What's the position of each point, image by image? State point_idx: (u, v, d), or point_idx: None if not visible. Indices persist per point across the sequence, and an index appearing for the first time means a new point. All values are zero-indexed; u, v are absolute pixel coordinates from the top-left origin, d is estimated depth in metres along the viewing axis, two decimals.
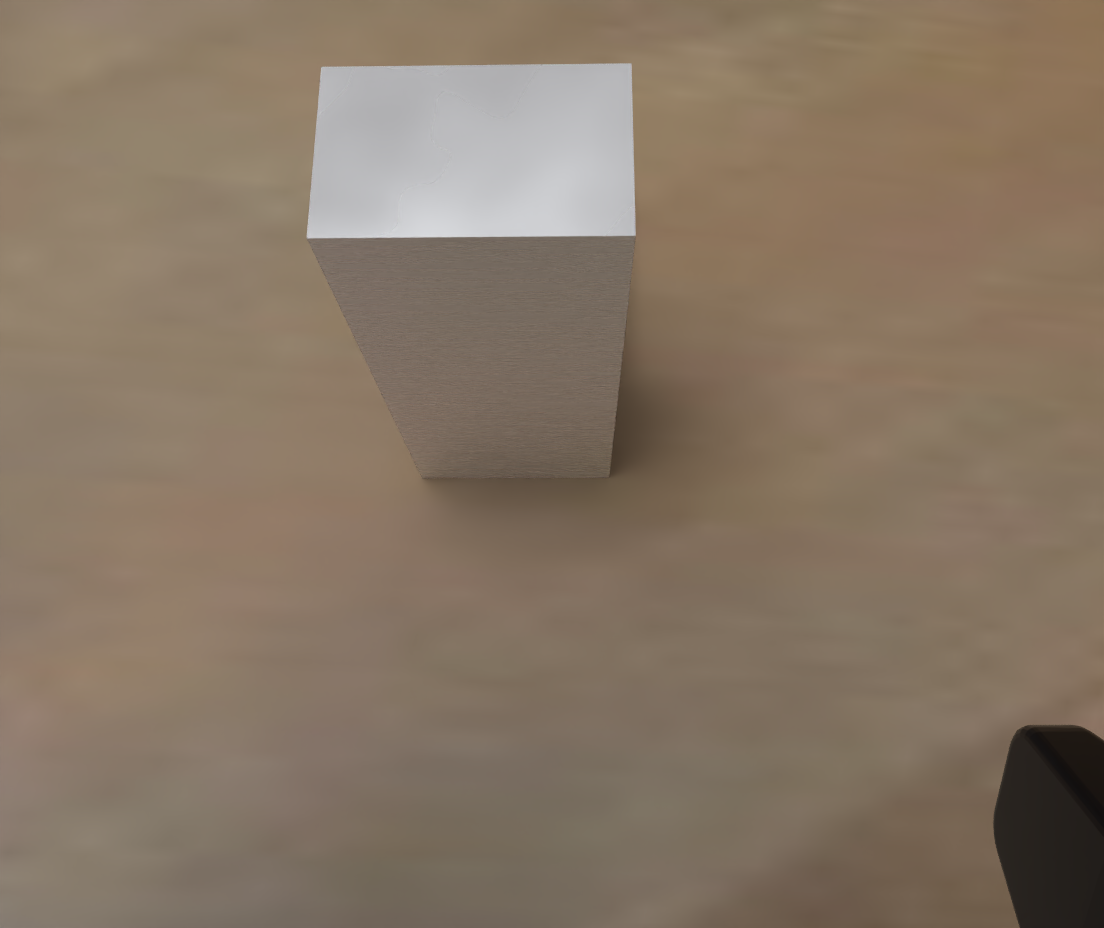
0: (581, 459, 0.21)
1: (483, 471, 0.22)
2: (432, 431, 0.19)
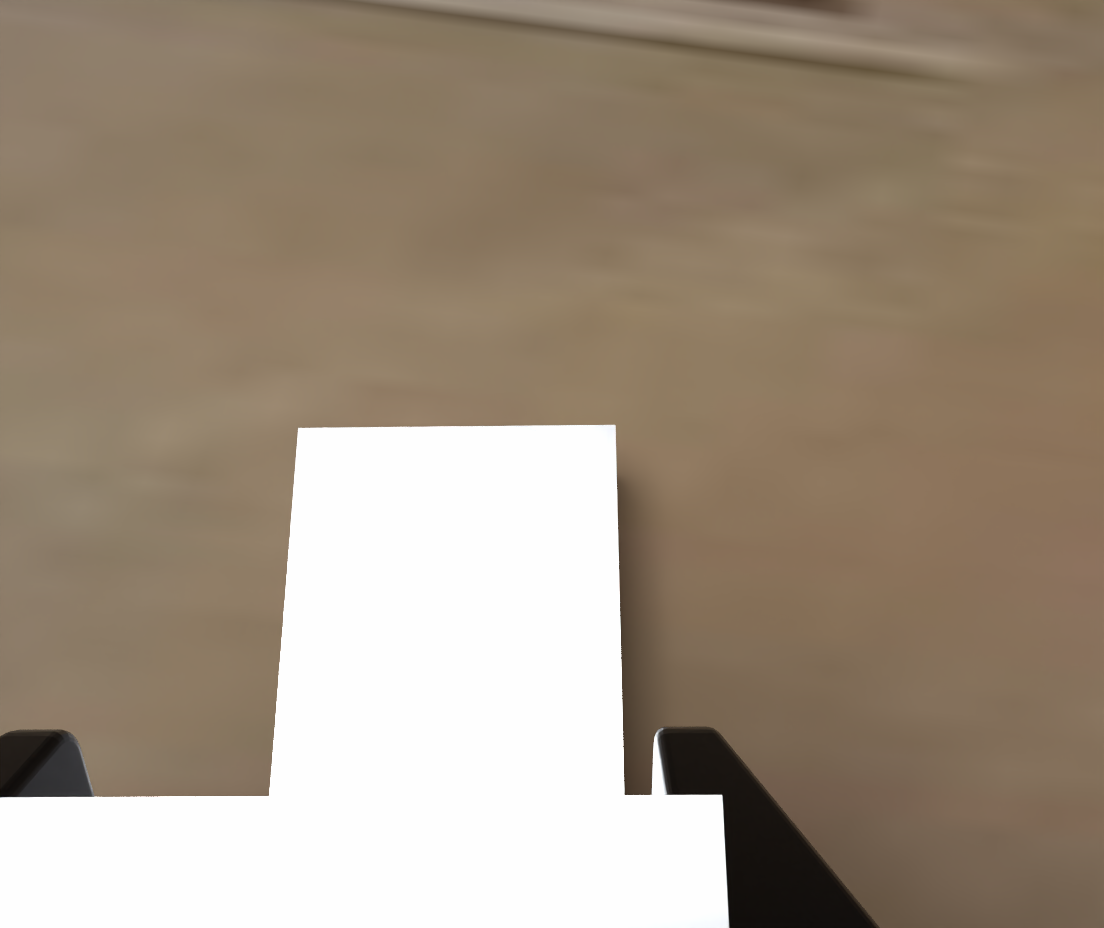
0: None
1: None
2: None
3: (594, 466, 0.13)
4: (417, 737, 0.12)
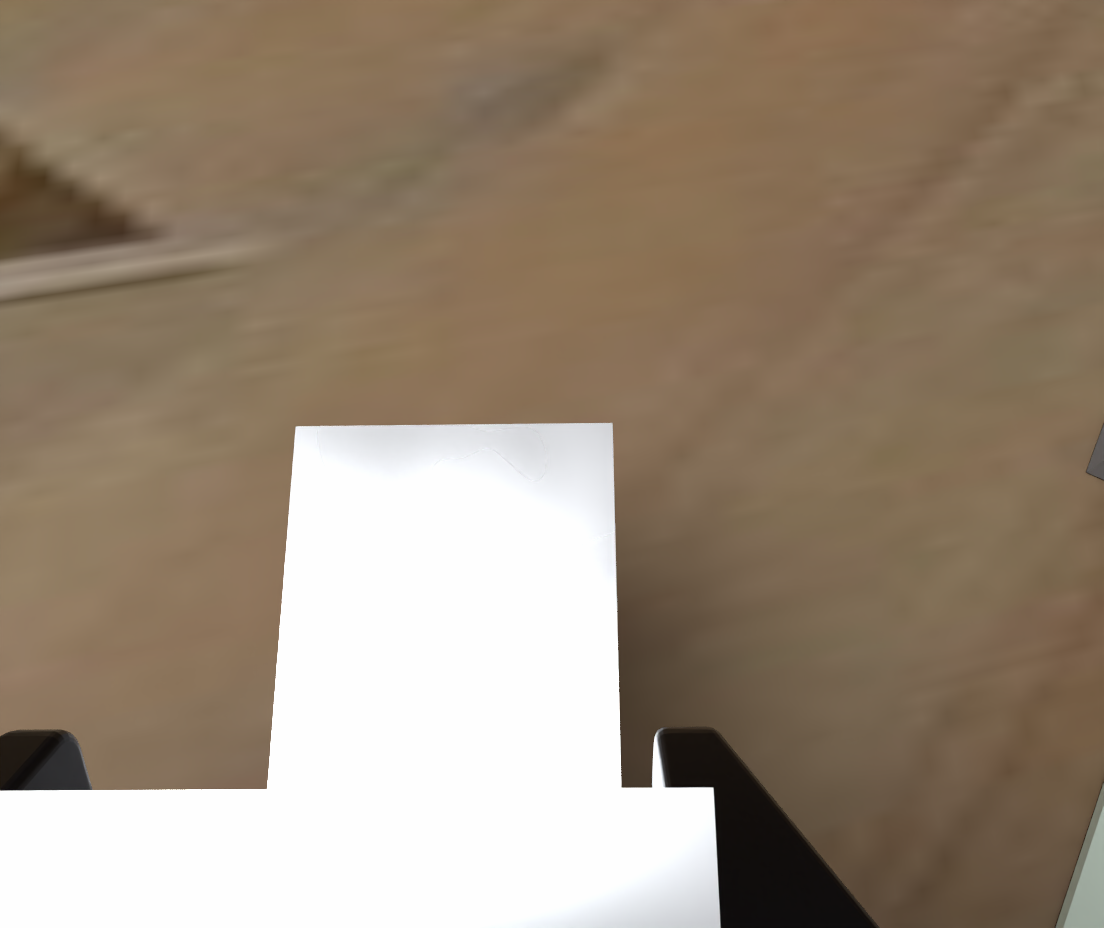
0: None
1: None
2: None
3: (591, 464, 0.13)
4: (414, 735, 0.12)
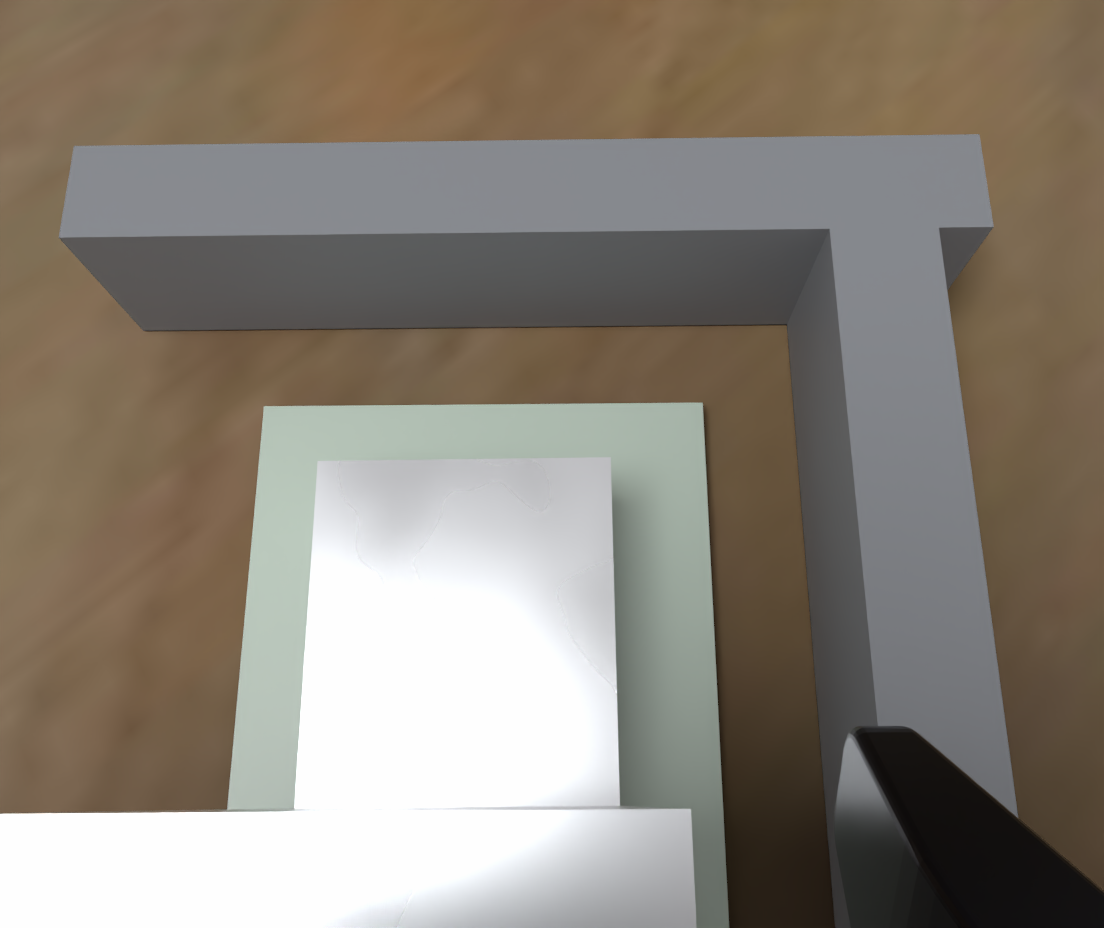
0: None
1: None
2: None
3: (591, 495, 0.14)
4: (430, 747, 0.13)
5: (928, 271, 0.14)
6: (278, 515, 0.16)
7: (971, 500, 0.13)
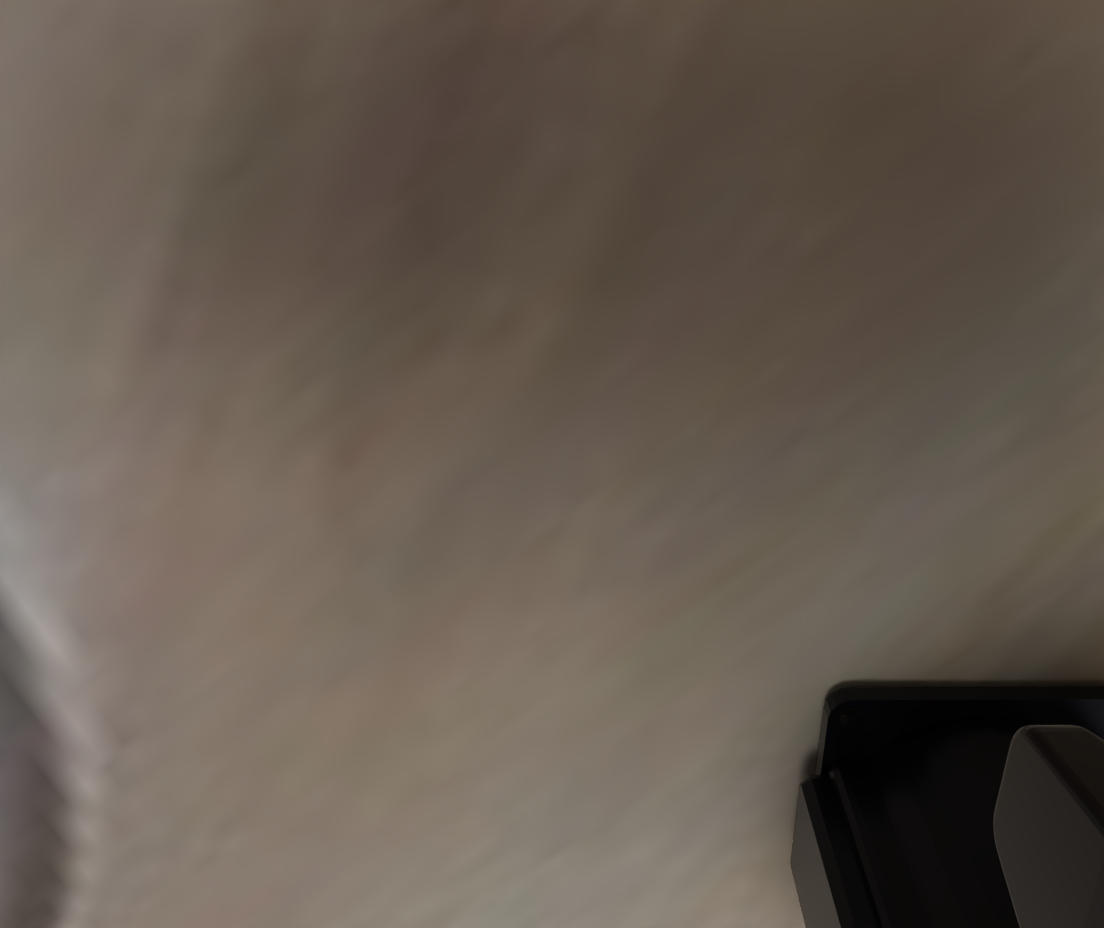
0: None
1: None
2: None
3: None
4: None
5: None
6: None
7: None
